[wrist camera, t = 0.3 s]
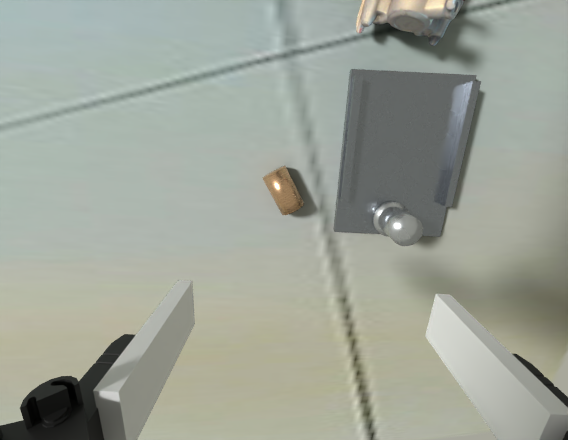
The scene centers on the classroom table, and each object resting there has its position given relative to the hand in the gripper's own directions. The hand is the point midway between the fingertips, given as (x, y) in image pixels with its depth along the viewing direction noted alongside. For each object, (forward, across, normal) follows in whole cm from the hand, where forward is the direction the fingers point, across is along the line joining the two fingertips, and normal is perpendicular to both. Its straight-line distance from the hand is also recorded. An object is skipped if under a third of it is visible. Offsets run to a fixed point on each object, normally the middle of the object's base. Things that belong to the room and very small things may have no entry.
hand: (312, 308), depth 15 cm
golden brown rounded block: (+27, -2, +2) cm, 27 cm away
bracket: (+27, +14, +7) cm, 31 cm away
